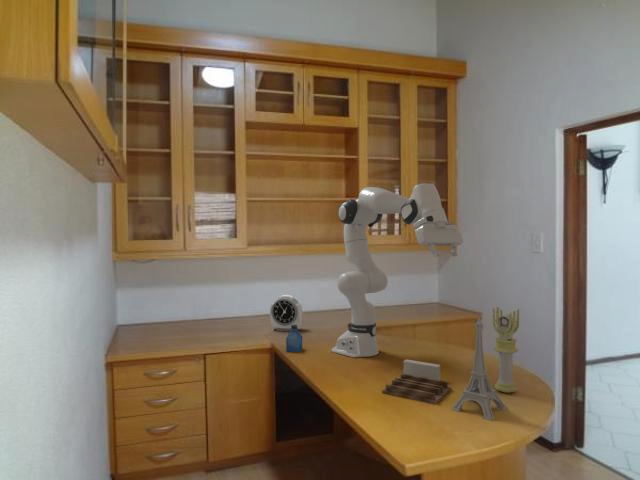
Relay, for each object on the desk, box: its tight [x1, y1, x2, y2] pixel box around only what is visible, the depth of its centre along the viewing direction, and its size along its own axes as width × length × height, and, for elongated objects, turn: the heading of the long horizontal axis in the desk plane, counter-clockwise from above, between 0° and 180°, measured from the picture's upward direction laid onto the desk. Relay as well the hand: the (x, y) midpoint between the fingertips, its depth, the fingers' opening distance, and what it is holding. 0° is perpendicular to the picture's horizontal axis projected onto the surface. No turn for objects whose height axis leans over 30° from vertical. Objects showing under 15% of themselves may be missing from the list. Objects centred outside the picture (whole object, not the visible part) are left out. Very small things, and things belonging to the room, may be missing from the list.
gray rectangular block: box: [402, 359, 441, 380], centre depth 181 cm, size 14×3×6 cm, turn 57°
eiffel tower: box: [450, 317, 508, 422], centre depth 150 cm, size 13×13×30 cm
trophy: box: [492, 306, 520, 394], centre depth 165 cm, size 8×8×30 cm
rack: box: [381, 373, 452, 405], centre depth 166 cm, size 20×16×3 cm
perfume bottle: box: [285, 325, 303, 353], centre depth 223 cm, size 6×6×12 cm
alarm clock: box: [269, 294, 303, 332], centre depth 265 cm, size 18×8×20 cm, turn 76°
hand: (445, 256), depth 166 cm, fingers open, 8 cm apart
